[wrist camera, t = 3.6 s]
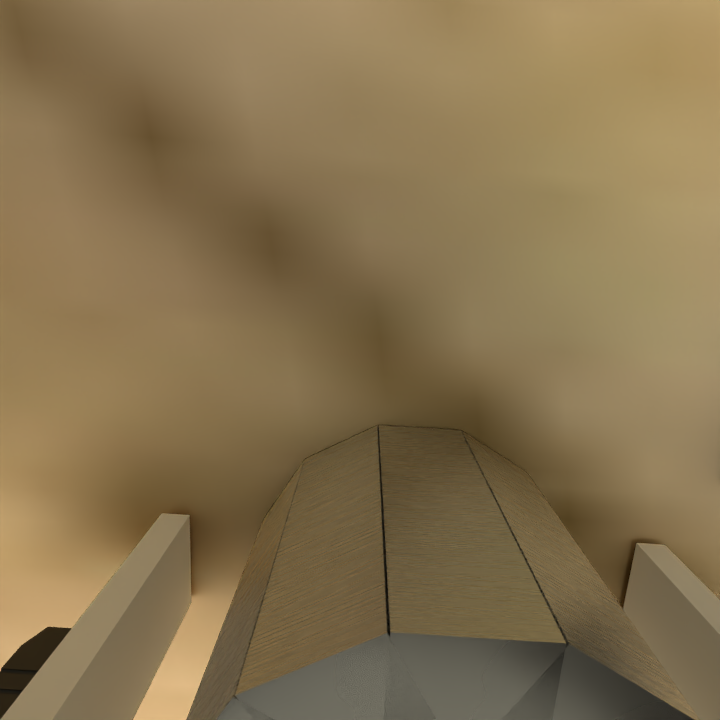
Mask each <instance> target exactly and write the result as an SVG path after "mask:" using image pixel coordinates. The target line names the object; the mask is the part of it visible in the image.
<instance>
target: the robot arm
mask: <svg viewBox="0 0 720 720" xmlns="http://www.w3.org/2000/svg"><path fill="white" fill-rule="evenodd" d="M190 604H191V554H190V515H182V514H166V513H161V515H160V516H159V517H158V519H157V520H156V521H155V522H154V524H153V525H152V526H151V528H150V529H149V530H148V531H147V533H146V534H145V535H144V537H143V538H142V539H141V540H140V542H139V543H138V544H137V545H136V547H135V548H134V549H133V551H132V552H131V553H130V554H129V556H128V557H127V558H126V560H125V561H124V562H123V563H122V565H121V566H120V567H119V568H118V570H117V571H116V572H115V574H114V575H113V576H112V577H111V579H110V580H109V581H108V583H107V584H106V585H105V586H104V588H103V589H102V590H101V592H100V593H99V594H98V595H97V597H96V598H95V599H94V600H93V602H92V603H91V604H90V606H89V607H88V608H87V609H86V611H85V612H84V613H83V615H82V616H81V617H80V618H79V620H78V621H77V622H76V623H75V625H74V626H73V627H72V628H58V627H47V628H46V629H44V630H43V631H41V632H40V633H38V634H37V635H36V636H34V637H33V638H31V639H30V640H28V641H27V642H26V643H24V644H23V645H21V646H20V648H19V649H18V650H17V651H16V652H15V653H14V654H13V656H12V657H11V658H10V659H9V660H8V661H7V662H6V664H5V665H4V666H3V667H2V668H1V672H0V720H133V718H134V716H135V714H136V712H137V710H138V708H139V706H140V704H141V702H142V700H143V698H144V696H145V694H146V692H147V690H148V688H149V686H150V684H151V682H152V680H153V678H154V676H155V674H156V672H157V670H158V668H159V666H160V664H161V662H162V660H163V658H164V656H165V654H166V652H167V650H168V648H169V646H170V644H171V642H172V640H173V638H174V636H175V634H176V632H177V630H178V628H179V626H180V624H181V622H182V620H183V618H184V616H185V614H186V612H187V610H188V608H189V606H190ZM623 610H624V612H625V613H626V615H627V616H628V617H629V619H630V620H631V622H632V623H633V625H634V626H635V627H636V629H637V630H638V632H639V633H640V635H641V636H642V637H643V639H644V640H645V642H646V643H647V645H648V646H649V647H650V649H651V650H652V652H653V653H654V655H655V656H656V658H657V659H658V660H659V662H660V663H661V665H662V666H663V668H664V669H665V670H666V672H667V673H668V675H669V676H670V678H671V679H672V680H673V682H674V683H675V685H676V686H677V688H678V689H679V690H680V692H681V693H682V695H683V696H684V698H685V699H686V700H687V702H688V703H689V705H690V706H691V708H692V709H693V710H694V712H695V713H696V715H697V716H698V718H699V719H700V720H720V600H719V599H718V598H717V597H716V596H715V595H714V594H713V593H712V592H711V591H710V590H709V589H708V588H707V586H706V585H705V584H704V583H703V582H702V581H701V580H700V579H699V578H698V577H697V576H696V575H695V574H694V573H693V572H692V571H691V570H690V569H689V568H688V567H687V566H686V565H685V564H684V563H683V562H682V561H681V560H680V559H679V558H678V557H677V556H676V555H675V554H674V553H673V552H672V551H671V550H670V549H669V548H668V547H667V546H666V545H662V544H646V543H636V548H635V553H634V558H633V563H632V568H631V573H630V577H629V582H628V587H627V592H626V597H625V602H624V607H623Z"/></svg>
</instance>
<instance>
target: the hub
mask: <svg viewBox="0 0 720 720" xmlns="http://www.w3.org/2000/svg"><path fill="white" fill-rule="evenodd" d="M186 720H700V719H699V718H698V716H697V715H696V713H695V712H694V710H693V709H692V708H691V706H690V705H689V703H688V702H687V700H686V699H685V698H684V696H683V695H682V693H681V692H680V690H679V689H678V688H677V686H676V685H675V683H674V682H673V680H672V679H671V678H670V676H669V675H668V673H667V672H666V670H665V669H664V668H663V666H662V665H661V663H660V662H659V660H658V659H657V658H656V656H655V655H654V653H653V652H652V650H651V649H650V647H649V646H648V645H647V643H646V642H645V640H644V639H643V637H642V636H641V635H640V633H639V632H638V630H637V629H636V627H635V626H634V625H633V623H632V622H631V620H630V619H629V617H628V616H627V615H626V613H625V612H624V610H623V609H622V607H621V606H620V605H619V603H618V602H617V600H616V599H615V597H614V596H613V595H612V593H611V592H610V590H609V589H608V587H607V586H606V585H605V583H604V582H603V580H602V579H601V577H600V576H599V575H598V573H597V572H596V570H595V569H594V567H593V566H592V564H591V563H590V562H589V560H588V559H587V557H586V556H585V554H584V553H583V552H582V550H581V549H580V547H579V546H578V544H577V543H576V542H575V540H574V539H573V537H572V536H571V534H570V533H569V532H568V530H567V529H566V527H565V526H564V524H563V523H562V522H561V520H560V519H559V517H558V516H557V514H556V513H555V512H554V510H553V509H552V507H551V506H550V504H549V503H548V502H547V500H546V499H545V497H544V496H543V494H542V493H541V492H540V490H539V489H538V487H537V486H536V484H535V483H534V482H533V480H532V479H531V477H530V476H529V474H528V473H527V472H525V471H524V470H522V469H521V468H519V467H518V466H516V465H515V464H513V463H511V462H510V461H508V460H507V459H505V458H504V457H502V456H501V455H499V454H498V453H496V452H494V451H493V450H491V449H490V448H488V447H487V446H485V445H484V444H482V443H480V442H479V441H477V440H476V439H474V438H473V437H471V436H470V435H468V434H466V433H465V432H463V431H461V430H451V429H435V428H419V427H402V426H386V425H379V428H378V426H375V427H373V428H370V429H368V430H366V431H364V432H362V433H360V434H358V435H355V436H353V437H351V438H349V439H347V440H345V441H343V442H340V443H338V444H336V445H334V446H332V447H330V448H328V449H325V450H323V451H321V452H319V453H317V454H315V455H313V456H310V457H308V458H306V459H305V460H304V461H303V462H302V464H301V465H300V467H299V468H298V470H297V471H296V473H295V474H294V475H293V477H292V478H291V480H290V481H289V483H288V484H287V486H286V487H285V489H284V490H283V492H282V493H281V495H280V496H279V497H278V499H277V500H276V502H275V503H274V505H273V506H272V508H271V509H270V511H269V512H268V514H267V515H266V516H265V518H264V519H263V522H262V524H261V527H260V530H259V532H258V535H257V537H256V540H255V543H254V545H253V548H252V550H251V553H250V556H249V558H248V561H247V563H246V566H245V569H244V571H243V574H242V576H241V579H240V582H239V584H238V587H237V589H236V592H235V595H234V597H233V600H232V602H231V605H230V608H229V610H228V613H227V615H226V618H225V621H224V623H223V626H222V628H221V631H220V634H219V636H218V639H217V641H216V644H215V647H214V649H213V652H212V654H211V657H210V660H209V662H208V665H207V667H206V670H205V673H204V675H203V678H202V680H201V683H200V686H199V688H198V691H197V693H196V696H195V699H194V701H193V704H192V706H191V709H190V712H189V714H188V717H187V719H186Z"/></svg>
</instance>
